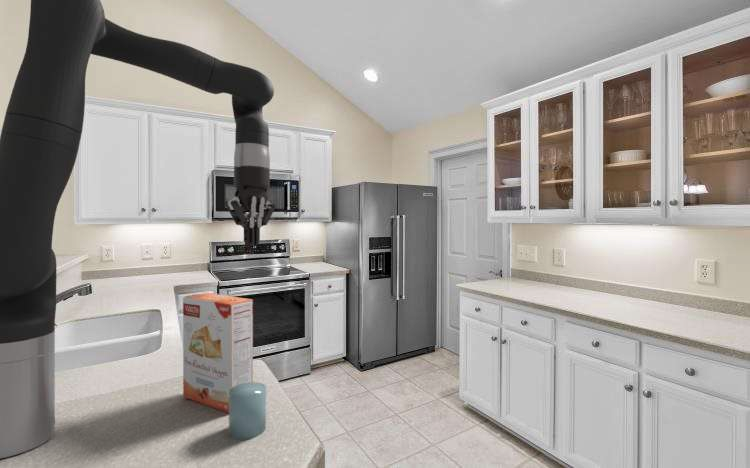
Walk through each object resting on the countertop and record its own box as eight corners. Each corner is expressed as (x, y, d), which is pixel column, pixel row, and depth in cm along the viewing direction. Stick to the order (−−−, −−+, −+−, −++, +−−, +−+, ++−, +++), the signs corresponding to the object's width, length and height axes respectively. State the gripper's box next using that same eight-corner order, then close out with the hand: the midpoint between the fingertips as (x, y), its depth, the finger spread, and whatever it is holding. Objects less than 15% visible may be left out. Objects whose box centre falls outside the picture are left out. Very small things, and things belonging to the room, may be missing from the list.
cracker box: (180, 398, 74) (181, 295, 74) (206, 387, 79) (207, 291, 79) (229, 415, 68) (229, 303, 67) (253, 402, 73) (254, 297, 73)
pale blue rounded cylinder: (247, 443, 59) (247, 400, 59) (221, 433, 62) (221, 392, 62) (273, 425, 64) (273, 386, 64) (247, 417, 67) (248, 379, 67)
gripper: (261, 172, 89) (261, 243, 89) (214, 163, 77) (214, 245, 77) (285, 170, 85) (285, 244, 86) (241, 160, 73) (240, 246, 74)
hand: (251, 244), depth 81 cm, fingers closed
